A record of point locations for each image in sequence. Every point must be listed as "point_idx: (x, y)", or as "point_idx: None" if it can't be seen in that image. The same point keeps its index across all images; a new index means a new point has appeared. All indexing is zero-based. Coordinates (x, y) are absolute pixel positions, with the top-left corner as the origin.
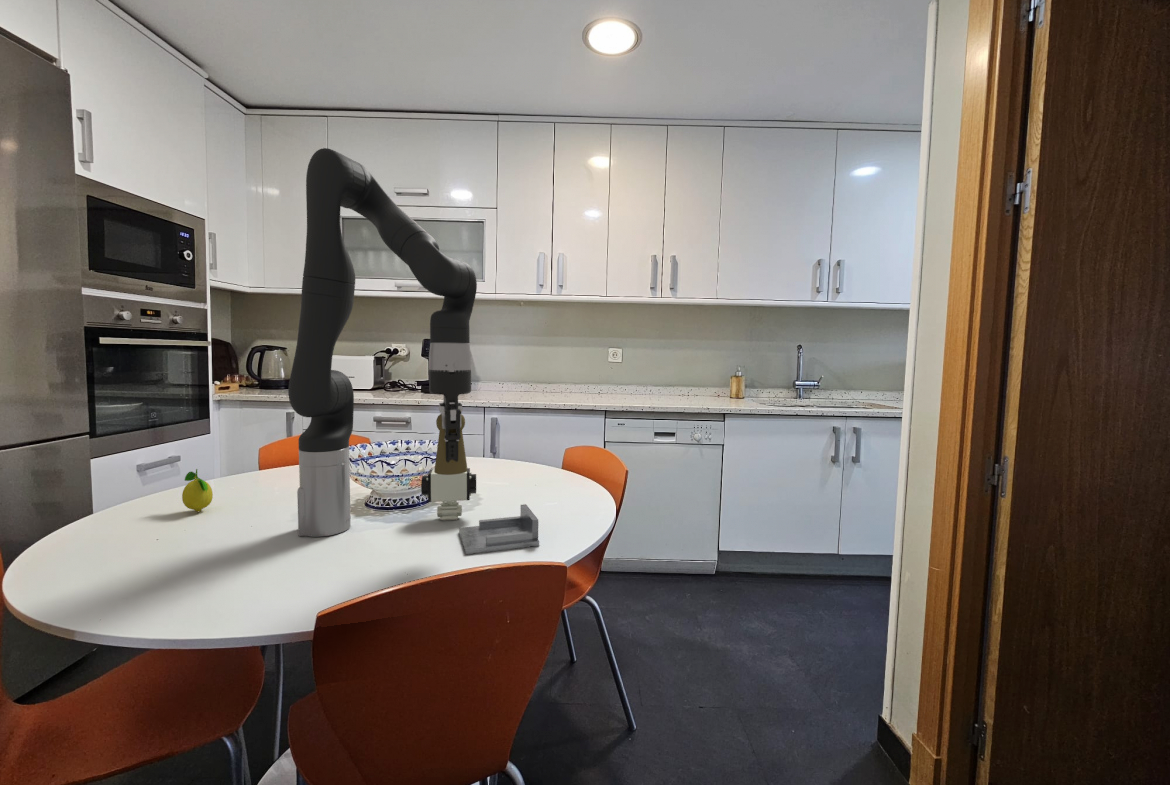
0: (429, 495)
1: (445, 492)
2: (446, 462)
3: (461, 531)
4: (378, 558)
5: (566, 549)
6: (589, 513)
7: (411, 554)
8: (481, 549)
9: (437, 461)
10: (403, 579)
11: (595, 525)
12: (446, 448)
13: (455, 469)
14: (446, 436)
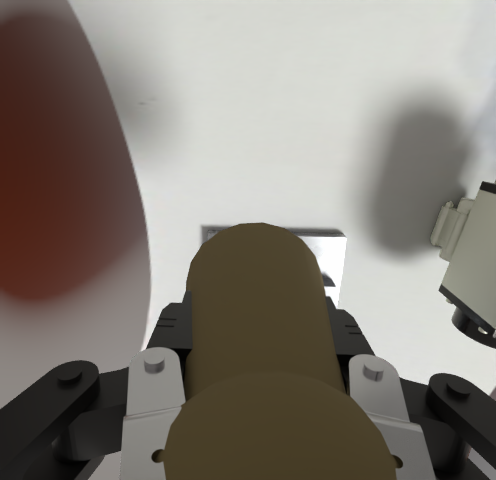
0: (494, 189)
1: (480, 238)
2: (189, 288)
3: (320, 239)
4: (250, 36)
5: None
6: None
7: (249, 117)
8: None
9: (230, 251)
10: (117, 93)
11: None
12: (173, 328)
13: None
14: (33, 386)
